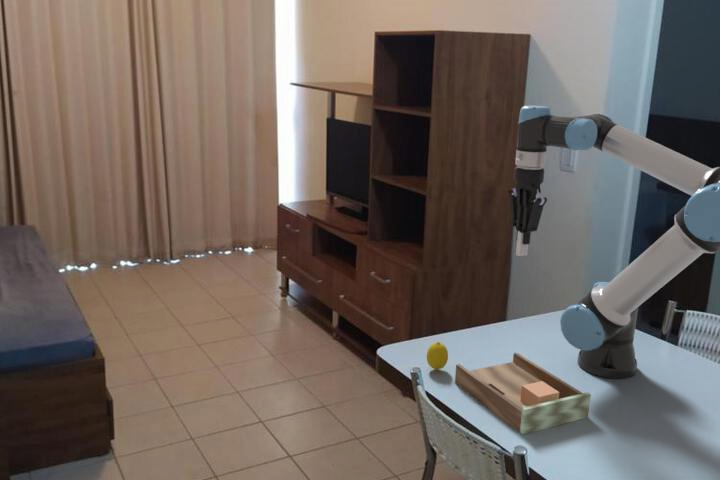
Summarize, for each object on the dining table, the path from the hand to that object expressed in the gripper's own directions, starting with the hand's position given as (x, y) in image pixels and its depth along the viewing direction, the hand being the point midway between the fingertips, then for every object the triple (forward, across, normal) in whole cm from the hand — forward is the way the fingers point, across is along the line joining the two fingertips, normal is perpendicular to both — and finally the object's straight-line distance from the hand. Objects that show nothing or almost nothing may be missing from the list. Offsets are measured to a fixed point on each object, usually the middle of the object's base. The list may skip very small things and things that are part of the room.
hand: (521, 254), depth 188 cm
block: (+27, +28, -14) cm, 41 cm away
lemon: (+30, -1, -24) cm, 38 cm away
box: (+29, +20, -14) cm, 38 cm away
